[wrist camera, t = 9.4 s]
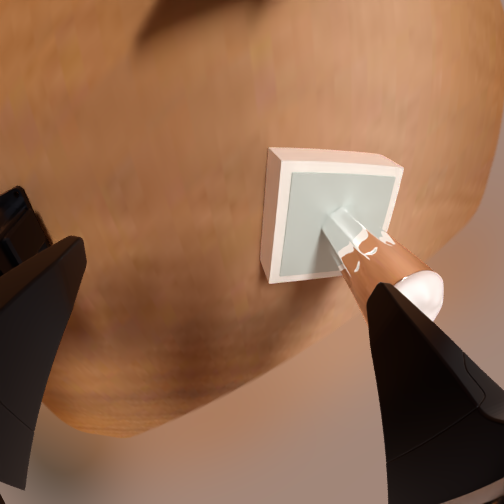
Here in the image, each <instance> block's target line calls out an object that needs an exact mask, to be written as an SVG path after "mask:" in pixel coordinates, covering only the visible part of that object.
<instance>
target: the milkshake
mask: <svg viewBox="0 0 504 504" xmlns="http://www.w3.org/2000/svg"><path fill="white" fill-rule="evenodd" d="M322 233H323V240H324V243H325V244H326V246H327V248H328V250H329V252H330V253H331V255H332V257H333V259H334V261H335V262H336V264H337V266H338V268H339V270H340V272H341V273H342V275H343V277H344V279H345V281H346V283H347V285H348V287H349V288H350V290H351V292H352V294H353V296H354V298H355V300H356V302H357V305H358V307H359V309H360V311H361V313H362V315H363V318H364V319H365V322H366V324H367V326H368V318H367V310H366V304H367V300H368V298H369V297H370V295H371V293H372V292H373V290H374V288H375V287H376V285H377V284H378V283H379V282H385V283H390V284H392V285H393V286H394V287H395V288H396V289H398V290H399V291H400V292H401V293H402V294H403V295H404V296H405V297H407V298H408V299H409V300H410V301H411V302H412V303H413V304H414V305H415V306H416V307H418V308H419V309H420V310H421V311H422V312H423V313H424V314H425V315H426V316H427V317H428V318H429V319H430V320H431V321H434V319H435V317H436V316H437V314H438V312H439V311H440V308H441V306H442V302H443V280H442V278H441V277H440V276H439V275H438V274H437V273H435V272H434V271H433V270H432V269H431V268H430V267H429V266H427V265H426V264H425V263H424V262H423V261H421V260H420V259H419V258H418V257H417V256H415V255H414V254H413V253H412V252H410V251H409V250H408V249H407V248H405V247H404V246H403V245H401V244H400V243H399V242H398V241H396V240H395V239H394V238H393V237H392V236H390V235H389V234H388V233H387V232H386V231H384V230H383V229H382V228H381V227H380V226H378V225H377V224H376V223H375V222H373V221H372V220H371V219H370V218H368V217H367V216H366V215H365V214H363V213H362V212H361V211H360V210H358V209H357V208H356V207H340V208H339V209H337V210H336V211H334V212H333V213H331V214H329V215H328V217H327V219H326V221H325V223H324V225H323V227H322Z"/></svg>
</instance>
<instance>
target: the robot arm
mask: <svg viewBox="0 0 504 504" xmlns="http://www.w3.org/2000/svg"><path fill="white" fill-rule="evenodd" d="M16 191H17V192H18V193H19V195H17V194H16ZM86 263H87V260H86V254H85V248H84V242H83V239H82V238H81V237H76V236H68V237H66V238H64V239H63V240H61V241H59V242H57V243H55V244H54V245H52V246H50V245H49V243H48V241H47V239H46V236H45V235H44V233H43V231H42V229H41V227H40V225H39V223H38V221H37V219H36V216H35V214H34V212H33V210H32V209H31V206H30V204H29V202H28V200H27V198H26V195H25V193H24V191H23V189H22V188H21V187H20V186H16V187H14V188H12V189H10V190H8V191H6V192H5V193H3V194H1V195H0V482H3V483H5V484H8V485H10V486H13V487H16V488H19V489H21V490H25V487H26V478H27V471H28V464H29V458H30V452H31V446H32V442H33V436H34V430H35V426H36V422H37V418H38V413H39V409H40V405H41V402H42V398H43V394H44V391H45V387H46V384H47V380H48V377H49V374H50V371H51V367H52V364H53V361H54V358H55V355H56V352H57V349H58V347H59V344H60V341H61V338H62V336H63V333H64V330H65V328H66V325H67V322H68V320H69V317H70V315H71V312H72V309H73V306H74V303H75V300H76V296H77V293H78V290H79V286H80V283H81V280H82V277H83V274H84V271H85V268H86ZM366 310H367V318H368V328H369V338H370V348H371V354H372V359H373V365H374V371H375V376H376V382H377V389H378V395H379V402H380V410H381V417H382V425H383V434H384V443H385V454H386V462H387V463H386V468H387V484H388V504H504V390H503V389H502V388H501V387H499V386H498V385H497V384H496V383H495V382H494V381H493V380H492V379H491V378H490V377H489V376H487V374H486V373H485V372H483V370H481V369H480V368H479V367H478V366H477V365H476V364H475V363H474V362H473V361H472V360H471V359H470V358H469V357H468V356H467V355H466V354H465V353H464V352H463V351H462V350H461V349H460V348H459V347H458V346H457V345H456V344H455V343H454V342H453V341H452V340H451V339H450V338H449V337H448V336H447V335H446V334H445V333H444V332H443V331H442V330H441V329H440V328H439V327H438V326H437V325H436V324H435V323H434V322H433V321H431V320H430V319H429V318H428V317H427V316H426V315H425V314H424V313H423V312H422V311H421V310H420V309H419V308H418V307H416V306H415V305H414V304H413V303H412V302H411V301H410V300H409V299H408V298H407V297H405V296H404V295H403V294H402V293H401V292H400V291H399V290H398V289H396V288H395V287H394V286H393V285H392V284H390V283H385V282H379V283H378V284H377V285H376V287H375V288H374V290H373V292H372V293H371V295H370V297H369V298H368V300H367V304H366ZM0 504H5V502H4V500H3V498H2V496H1V495H0Z"/></svg>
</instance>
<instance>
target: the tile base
mask: <svg viewBox="0 0 504 504" xmlns="http://www.w3.org/2000/svg"><path fill="white" fill-rule="evenodd" d="M403 170H404V168H403V167H402V166H400V165H398V164H397V163H395V162H393V161H392V160H390V159H388V158H386V157H385V156H383V155H381V154H374V153H364V152H353V151H341V150H327V149H309V148H280V147H268V158H267V172H266V185H265V199H264V212H263V225H262V238H261V251H260V261H261V264H262V266H263V269H264V272H265V274H266V277H267V280H268V282H269V284H271V283H281V282H291V281H300V280H309V279H318V278H327V277H335V276H343V275H342V273H341V272H340V270H339V268H338V266H337V264H336V262H335V261H334V259H333V257H332V255H331V253H330V252H329V250H328V248H327V246H326V244H325V243H324V240H323V233H322V227H323V225H324V223H325V221H326V219H327V217H328V215H329V214H331V213H333V212H334V211H336V210H337V209H339V208H340V207H356V208H357V209H358V210H360V211H361V212H362V213H363V214H365V215H366V216H367V217H368V218H370V219H371V220H372V221H373V222H375V223H376V224H377V225H378V226H380V227H381V228H382V229H383V230H384V231H386V232H387V230H388V227H389V223H390V220H391V216H392V213H393V209H394V205H395V202H396V198H397V194H398V190H399V186H400V182H401V178H402V174H403Z"/></svg>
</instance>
